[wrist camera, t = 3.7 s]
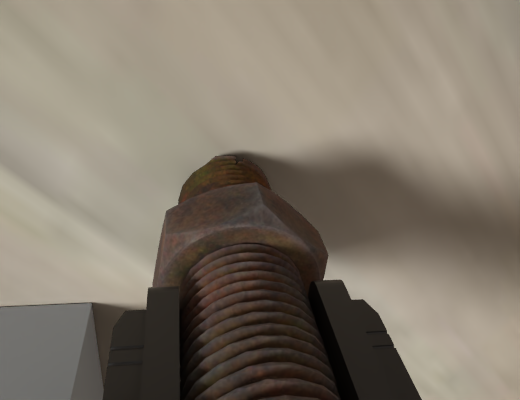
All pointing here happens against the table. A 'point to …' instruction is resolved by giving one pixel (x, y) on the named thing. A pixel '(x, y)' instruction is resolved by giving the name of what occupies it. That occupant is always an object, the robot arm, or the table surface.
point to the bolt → (244, 289)
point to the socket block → (49, 353)
